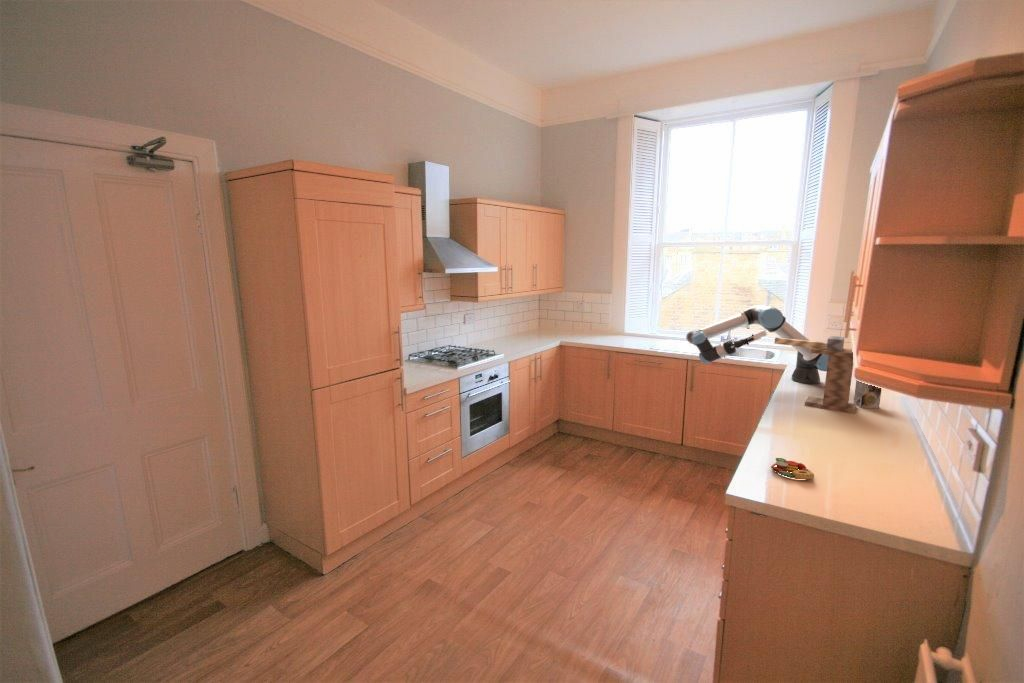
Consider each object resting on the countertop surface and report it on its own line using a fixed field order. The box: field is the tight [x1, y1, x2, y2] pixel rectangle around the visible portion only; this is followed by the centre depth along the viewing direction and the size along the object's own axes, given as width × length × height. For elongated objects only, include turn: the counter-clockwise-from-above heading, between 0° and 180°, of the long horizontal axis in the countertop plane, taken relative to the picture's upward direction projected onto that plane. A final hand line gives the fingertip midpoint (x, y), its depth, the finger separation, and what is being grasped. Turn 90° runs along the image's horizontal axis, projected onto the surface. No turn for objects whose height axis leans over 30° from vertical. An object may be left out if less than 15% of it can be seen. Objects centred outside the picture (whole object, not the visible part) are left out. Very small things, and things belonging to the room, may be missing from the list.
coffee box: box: [853, 379, 882, 409], centre depth 237 cm, size 9×6×16 cm
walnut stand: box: [804, 347, 858, 414], centre depth 236 cm, size 21×12×30 cm, turn 49°
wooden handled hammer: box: [773, 335, 845, 352], centre depth 241 cm, size 30×10×6 cm, turn 49°
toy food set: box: [770, 457, 815, 480], centre depth 166 cm, size 13×13×3 cm
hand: (763, 334), depth 254 cm, fingers open, 13 cm apart
